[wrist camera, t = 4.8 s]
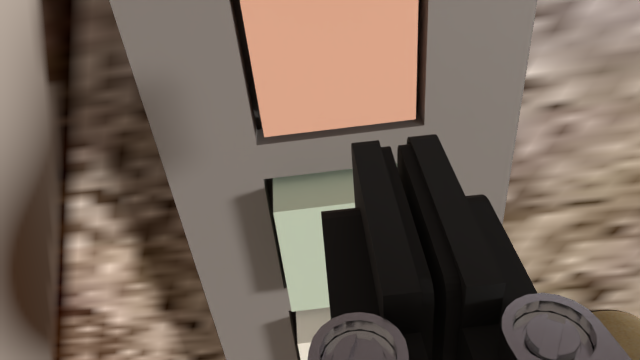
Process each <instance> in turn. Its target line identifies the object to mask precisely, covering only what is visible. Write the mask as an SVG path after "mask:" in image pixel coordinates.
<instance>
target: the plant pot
mask: <svg viewBox="0 0 640 360" xmlns="http://www.w3.org/2000/svg"><path fill="white" fill-rule="evenodd" d="M592 313H593V314H594V315H595V316H596V317H597V318H598V319H599V320H600V321H601V322H602V324H603V325H604V326H605V327H606V328H607V330H608V331H609V332H610V333H611V335H612V336H613V337H614V338H615V339H616V341H617V342H618V343H619V344H620V346H621V347H622V348H623V349H624V351H625V352H626V353H627V354H628V355H629V357H630V358H631V359H632V360H640V319H639V318H638V317H636V316H634V315H632V314H629V313H625V312H621V311H596V312H592Z"/></svg>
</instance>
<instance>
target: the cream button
mask: <svg viewBox="0 0 640 360" xmlns="http://www.w3.org/2000/svg"><path fill="white" fill-rule="evenodd" d="M329 320H331V316H330V307H327V308H319V309H311V310H303V311H296V323H297V342H298V349H299V354H300V359H301V360H308V352H309V348H310V345H311V341H312V338H313V337H314V335H315V334H316V333H317V331H318V330H319V329H320V327H321V326H323V325H324V324H325V323H327V322H328V321H329Z"/></svg>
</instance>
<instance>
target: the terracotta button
mask: <svg viewBox="0 0 640 360" xmlns="http://www.w3.org/2000/svg"><path fill="white" fill-rule="evenodd" d="M240 5H241V10H242V16H243V22H244V27H245V33H246V38H247V44H248V49H249V55H250V61H251V66H252V72H253V77H254V83H255V89H256V94H257V100H258V105H259V111H260V117H261V122H262V128H263V133H264V137H271V136H279V135H288V134H296V133H304V132H313V131H321V130H330V129H338V128H347V127H355V126H363V125H372V124H380V123H389V122H397V121H405V120H414V119H416V88H417V43H418V0H240Z"/></svg>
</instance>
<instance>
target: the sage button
mask: <svg viewBox="0 0 640 360" xmlns="http://www.w3.org/2000/svg"><path fill="white" fill-rule="evenodd" d="M396 166H397V163H396ZM348 208H355V198H354V183H353V169H345V170H336V171H328V172H320V173H311V174H303V175H295V176H286V177H278V178H273V214H274V219H275V225H276V230H277V235H278V241H279V246H280V252H281V257H282V262H283V268H284V273H285V279H286V284H287V289H288V295H289V300H290V305H291V311H292V312H295V311H303V310H311V309H319V308H327V307H330V305H329V294H328V283H327V273H326V262H325V251H324V240H323V229H322V219H321V211H330V210H339V209H348Z"/></svg>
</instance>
